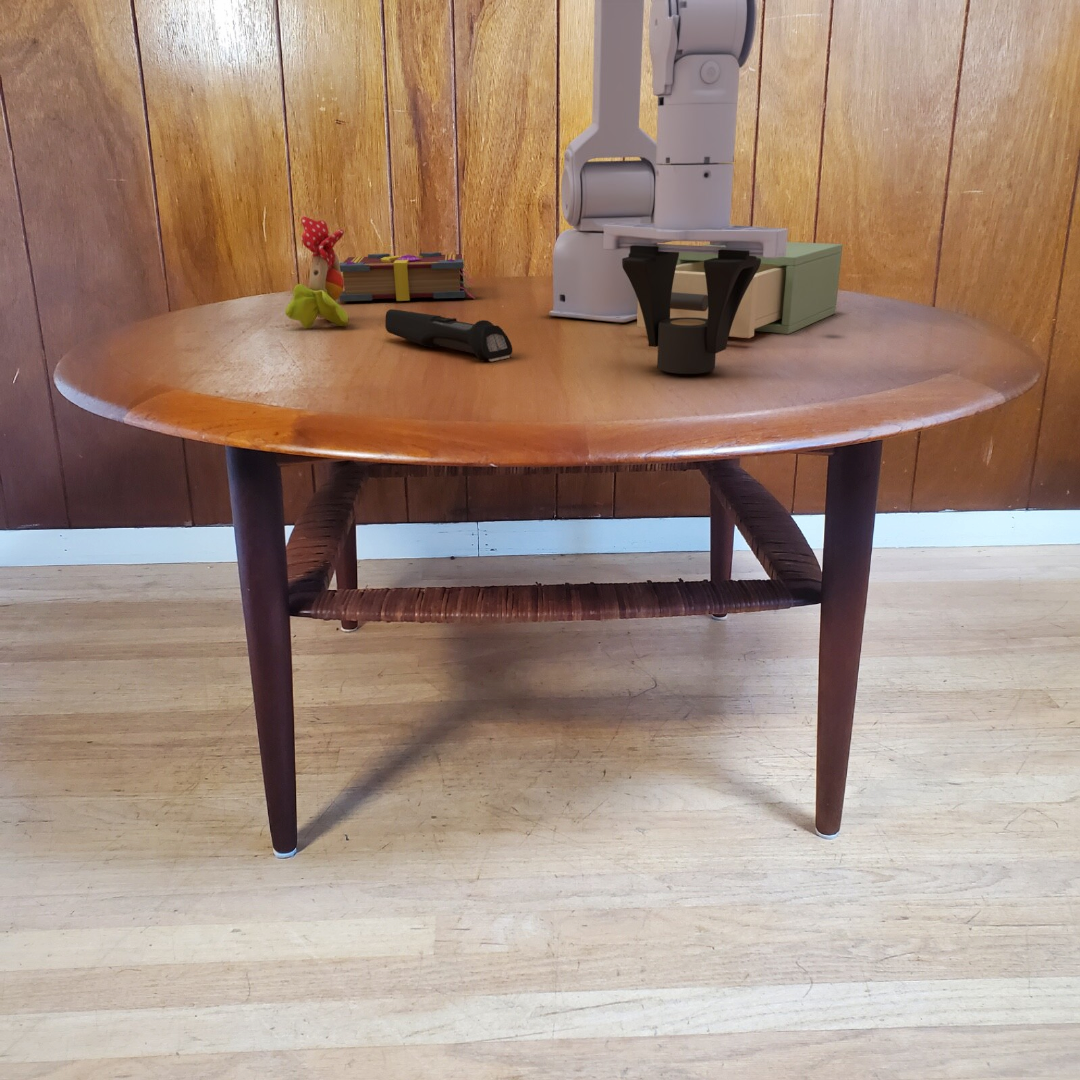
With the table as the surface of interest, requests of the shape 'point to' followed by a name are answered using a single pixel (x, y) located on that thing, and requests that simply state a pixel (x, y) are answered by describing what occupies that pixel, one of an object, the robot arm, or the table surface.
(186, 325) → the table surface
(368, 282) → the decorative book
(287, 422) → the table surface
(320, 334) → the table surface
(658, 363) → the dark grey cylinder
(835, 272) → the cabinet
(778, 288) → the drawer
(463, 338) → the electric trimmer
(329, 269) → the bird rattle
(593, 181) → the robot arm
